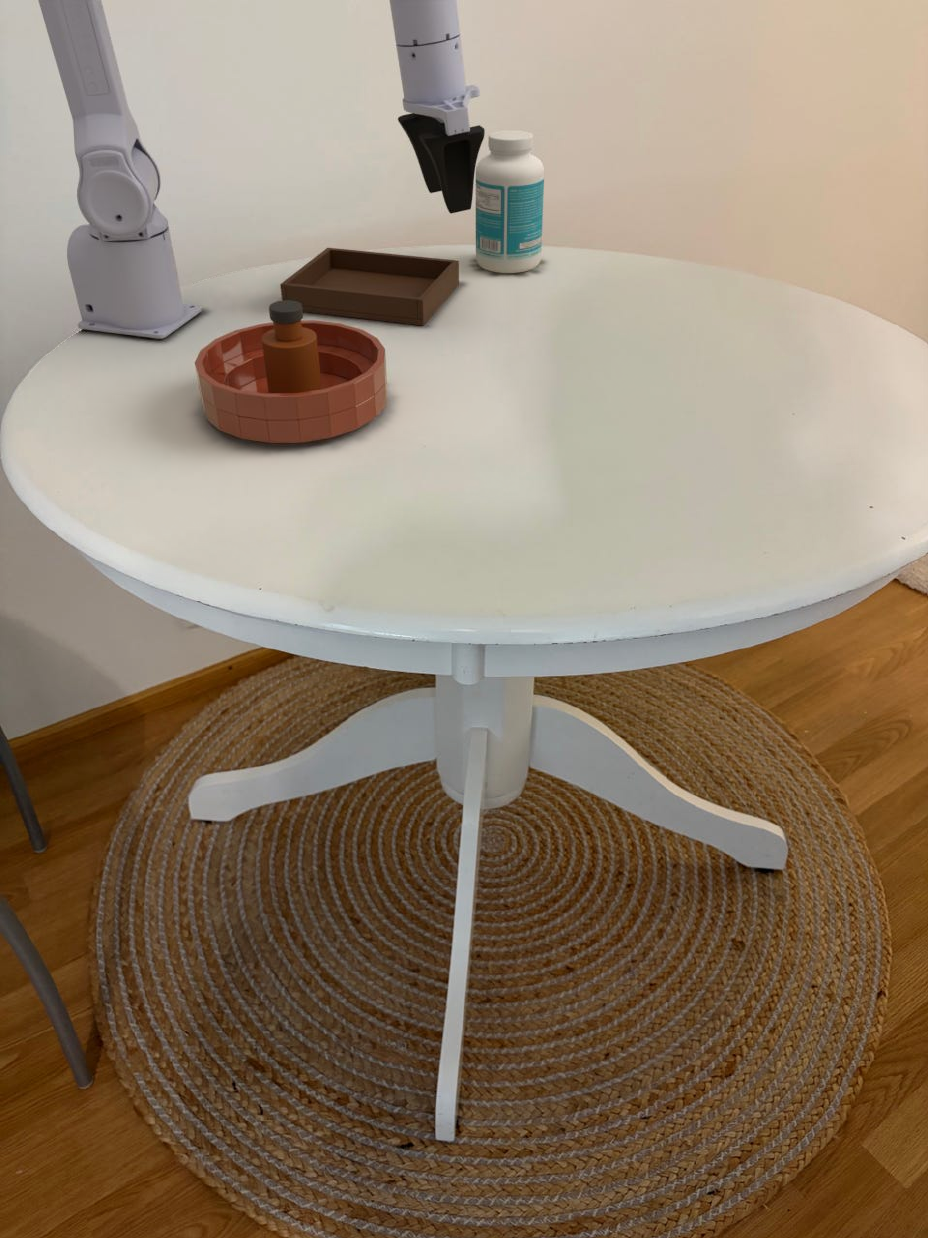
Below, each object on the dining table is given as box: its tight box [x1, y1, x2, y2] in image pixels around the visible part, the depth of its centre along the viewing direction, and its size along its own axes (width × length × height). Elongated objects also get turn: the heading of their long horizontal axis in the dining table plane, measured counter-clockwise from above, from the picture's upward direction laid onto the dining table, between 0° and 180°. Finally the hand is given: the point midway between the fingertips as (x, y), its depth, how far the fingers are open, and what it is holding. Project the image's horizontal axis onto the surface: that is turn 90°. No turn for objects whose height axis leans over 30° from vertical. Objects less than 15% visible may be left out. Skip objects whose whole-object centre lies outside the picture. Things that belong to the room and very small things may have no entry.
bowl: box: [194, 319, 388, 444], centre depth 79 cm, size 15×15×4 cm
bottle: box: [261, 300, 322, 394], centre depth 77 cm, size 4×4×8 cm
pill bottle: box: [475, 129, 545, 274], centre depth 104 cm, size 8×7×14 cm
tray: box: [279, 247, 460, 327], centre depth 100 cm, size 15×12×3 cm
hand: (449, 200), depth 92 cm, fingers open, 7 cm apart
